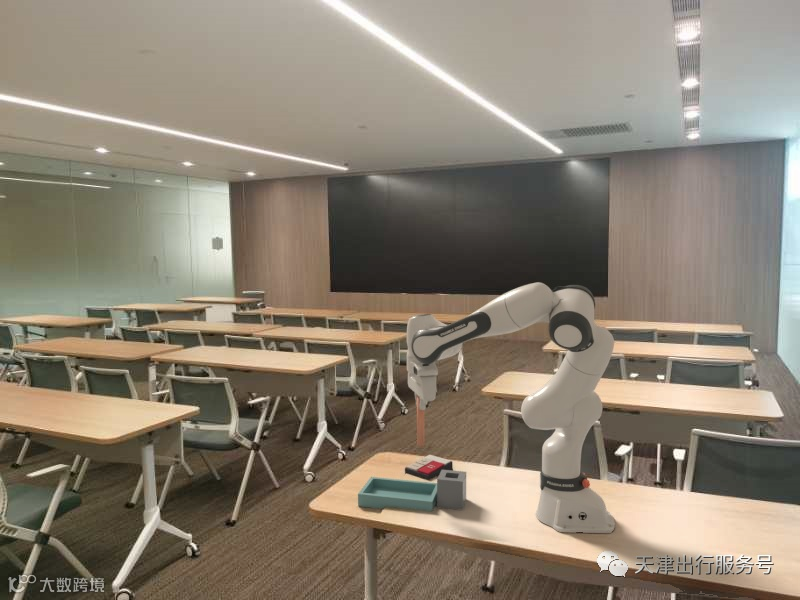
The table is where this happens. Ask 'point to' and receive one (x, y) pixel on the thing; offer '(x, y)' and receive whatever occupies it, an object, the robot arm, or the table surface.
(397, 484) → the tray
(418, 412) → the dowel pin
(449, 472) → the grey pencil holder
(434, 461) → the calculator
